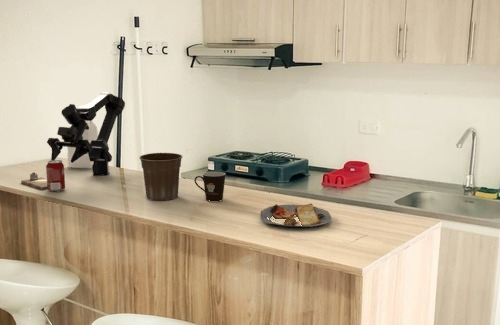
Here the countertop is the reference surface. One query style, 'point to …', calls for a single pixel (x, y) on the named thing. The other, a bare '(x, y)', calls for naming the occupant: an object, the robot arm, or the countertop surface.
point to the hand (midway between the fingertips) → (61, 161)
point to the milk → (84, 160)
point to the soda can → (55, 176)
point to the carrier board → (36, 182)
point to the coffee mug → (213, 185)
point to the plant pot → (161, 175)
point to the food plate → (305, 214)
